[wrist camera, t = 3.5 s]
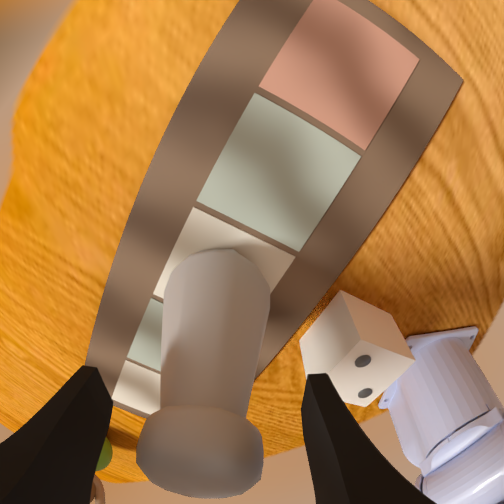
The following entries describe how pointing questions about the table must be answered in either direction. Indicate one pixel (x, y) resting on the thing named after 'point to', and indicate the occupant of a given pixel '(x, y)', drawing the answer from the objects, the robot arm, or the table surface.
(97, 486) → the green ball handle toy
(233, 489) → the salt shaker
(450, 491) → the robot arm
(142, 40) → the table surface
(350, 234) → the game board
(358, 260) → the table surface
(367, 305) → the die
